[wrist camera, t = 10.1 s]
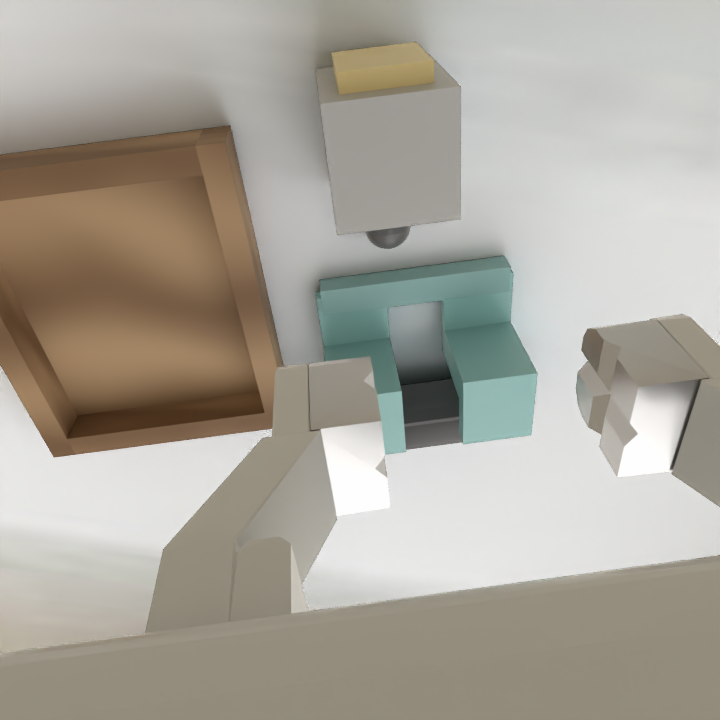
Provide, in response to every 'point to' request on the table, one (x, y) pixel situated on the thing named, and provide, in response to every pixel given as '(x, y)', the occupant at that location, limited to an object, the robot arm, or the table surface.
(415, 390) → the grey rounded bar
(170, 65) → the table surface
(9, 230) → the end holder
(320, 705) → the robot arm
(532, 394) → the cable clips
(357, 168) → the connector plug
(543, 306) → the table surface
